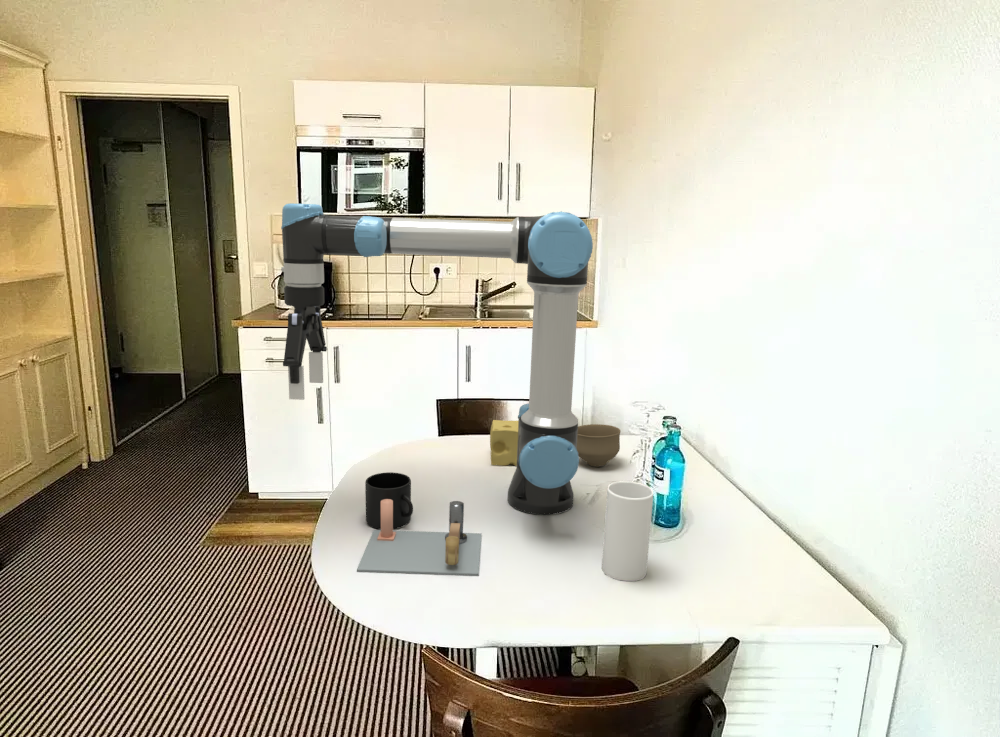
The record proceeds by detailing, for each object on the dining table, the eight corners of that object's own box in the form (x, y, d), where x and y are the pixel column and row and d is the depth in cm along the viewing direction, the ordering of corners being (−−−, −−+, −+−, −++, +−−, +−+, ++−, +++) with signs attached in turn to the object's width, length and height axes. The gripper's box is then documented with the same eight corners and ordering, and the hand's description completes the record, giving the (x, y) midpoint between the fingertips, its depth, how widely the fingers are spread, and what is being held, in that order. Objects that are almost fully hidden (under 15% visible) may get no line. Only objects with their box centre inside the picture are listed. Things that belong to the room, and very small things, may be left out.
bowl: (584, 452, 187) (587, 418, 185) (626, 463, 180) (629, 428, 178) (562, 464, 177) (564, 428, 175) (605, 476, 170) (607, 439, 168)
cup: (636, 586, 119) (644, 502, 115) (594, 572, 123) (600, 491, 119) (652, 567, 125) (659, 487, 122) (611, 554, 130) (617, 477, 126)
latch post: (396, 535, 134) (396, 498, 133) (393, 542, 131) (393, 505, 130) (380, 534, 134) (380, 497, 133) (377, 542, 131) (377, 504, 130)
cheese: (529, 467, 175) (531, 431, 173) (488, 466, 175) (489, 429, 173) (528, 454, 185) (529, 419, 183) (489, 452, 185) (490, 418, 183)
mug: (395, 538, 133) (395, 496, 131) (356, 520, 140) (355, 480, 138) (428, 523, 140) (429, 483, 138) (389, 507, 148) (389, 468, 146)
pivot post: (467, 536, 135) (468, 499, 133) (466, 546, 131) (467, 508, 129) (445, 535, 135) (446, 498, 133) (443, 546, 131) (444, 508, 129)
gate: (449, 539, 130) (449, 518, 129) (461, 539, 130) (461, 518, 129) (444, 564, 121) (445, 541, 120) (457, 565, 121) (458, 542, 120)
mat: (481, 535, 136) (481, 533, 136) (478, 575, 120) (478, 573, 120) (373, 531, 136) (373, 529, 136) (356, 571, 120) (356, 569, 120)
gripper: (303, 279, 142) (306, 375, 146) (262, 290, 118) (267, 406, 122) (338, 280, 142) (340, 377, 146) (304, 292, 118) (307, 407, 122)
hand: (307, 390), depth 134 cm, fingers open, 13 cm apart
